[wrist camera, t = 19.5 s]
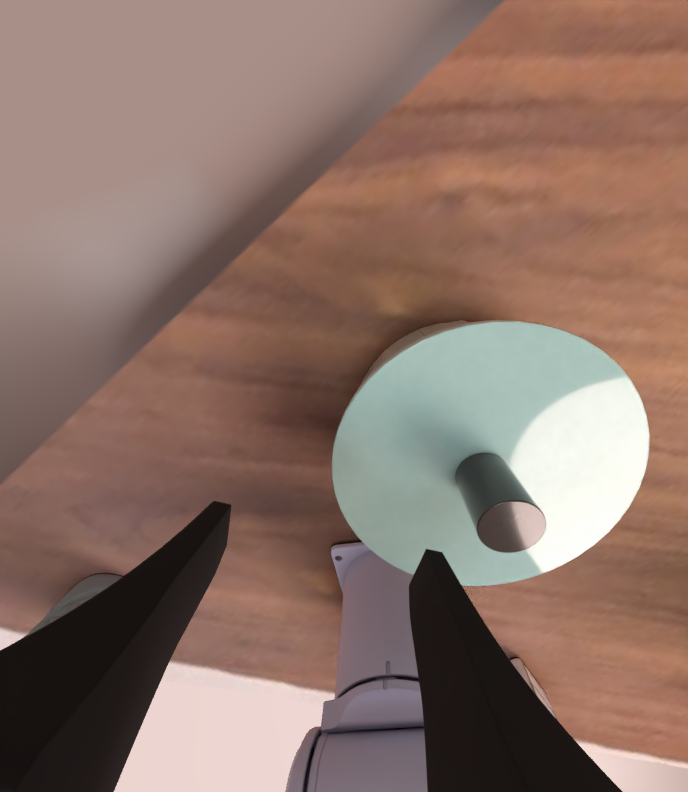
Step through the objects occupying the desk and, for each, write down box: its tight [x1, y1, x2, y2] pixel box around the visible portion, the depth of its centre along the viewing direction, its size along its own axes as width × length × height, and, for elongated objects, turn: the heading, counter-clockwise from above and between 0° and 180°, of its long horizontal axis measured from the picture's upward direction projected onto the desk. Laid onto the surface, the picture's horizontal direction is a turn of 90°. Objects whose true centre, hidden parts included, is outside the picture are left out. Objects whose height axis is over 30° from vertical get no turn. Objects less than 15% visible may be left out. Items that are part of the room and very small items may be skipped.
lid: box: [331, 320, 650, 586], centre depth 14 cm, size 14×14×4 cm
